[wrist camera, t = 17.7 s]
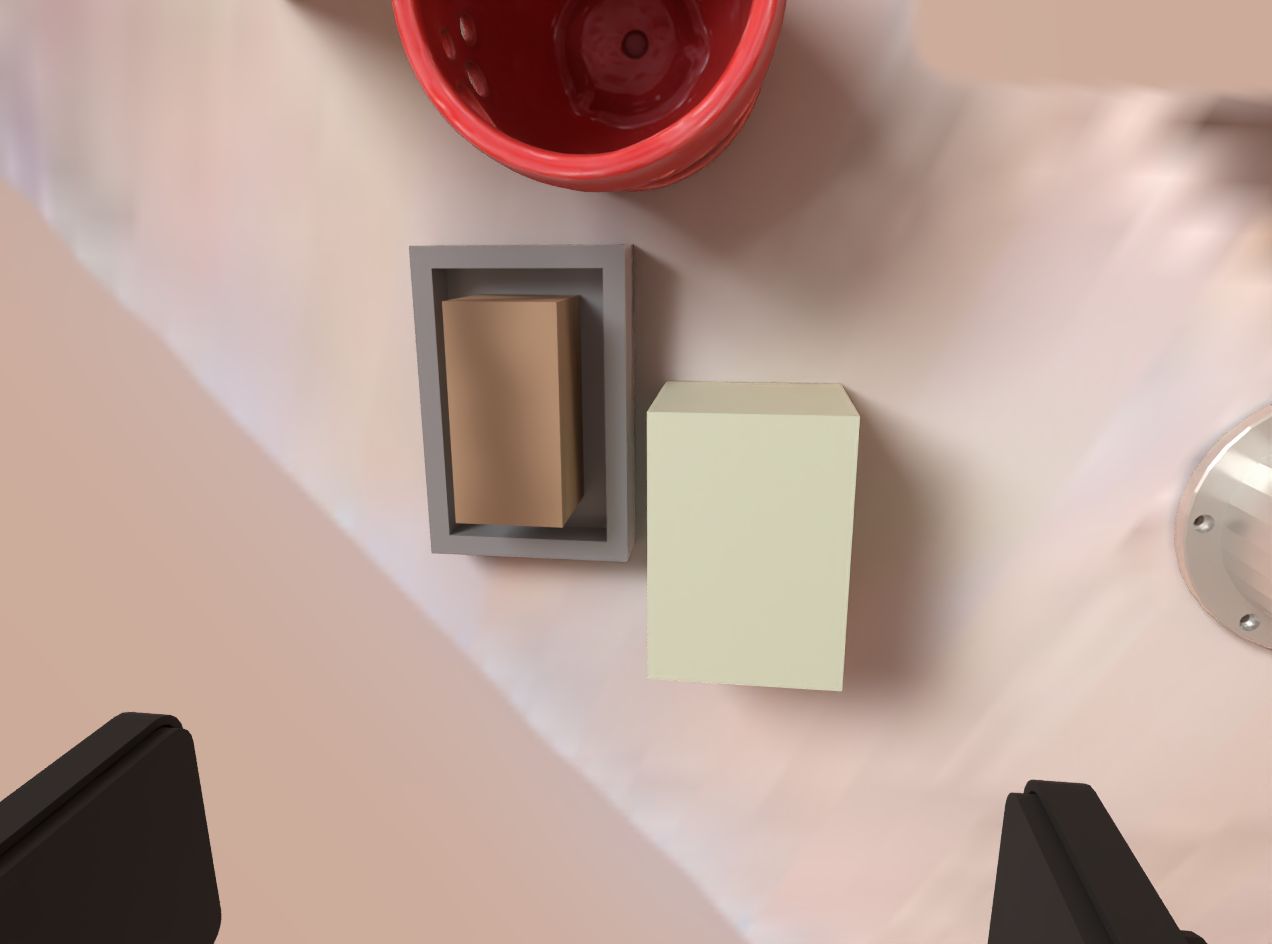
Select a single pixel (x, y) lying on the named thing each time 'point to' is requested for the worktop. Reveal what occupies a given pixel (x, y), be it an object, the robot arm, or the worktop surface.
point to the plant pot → (593, 82)
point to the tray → (606, 391)
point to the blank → (515, 407)
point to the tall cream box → (750, 532)
